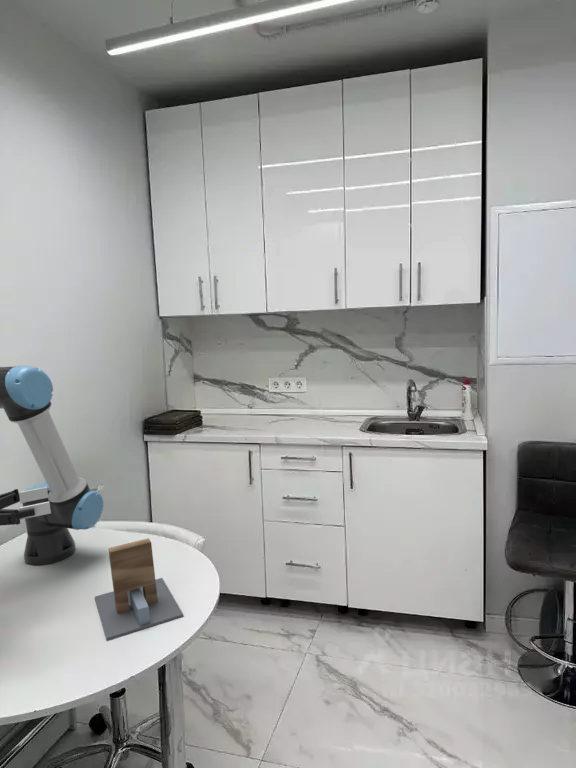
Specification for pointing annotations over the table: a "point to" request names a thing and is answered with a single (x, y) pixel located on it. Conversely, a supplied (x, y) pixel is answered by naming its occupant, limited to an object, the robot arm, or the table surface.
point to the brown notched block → (132, 572)
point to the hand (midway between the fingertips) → (48, 499)
